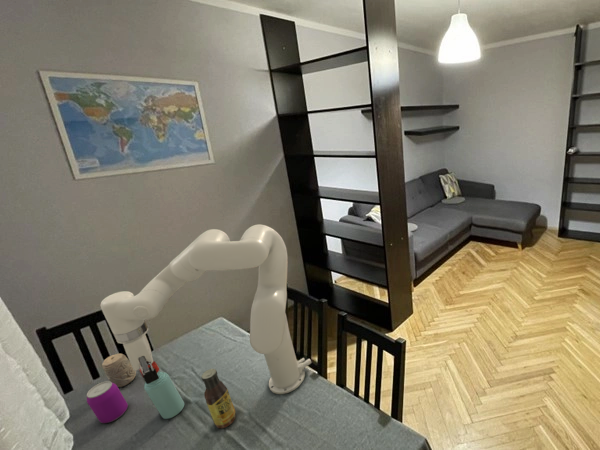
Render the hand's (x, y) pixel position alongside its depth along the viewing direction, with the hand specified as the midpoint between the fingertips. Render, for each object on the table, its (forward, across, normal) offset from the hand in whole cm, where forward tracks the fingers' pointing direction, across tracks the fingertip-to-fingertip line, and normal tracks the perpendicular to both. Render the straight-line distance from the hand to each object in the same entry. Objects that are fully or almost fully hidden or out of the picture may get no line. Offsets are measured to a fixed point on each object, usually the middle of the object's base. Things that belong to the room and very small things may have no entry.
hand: (151, 375), depth 100 cm
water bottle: (+16, +1, +2) cm, 16 cm away
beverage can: (+17, -13, -13) cm, 25 cm away
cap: (-1, 0, 0) cm, 1 cm away
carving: (+17, -28, -10) cm, 34 cm away
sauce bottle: (+16, +19, +14) cm, 28 cm away
